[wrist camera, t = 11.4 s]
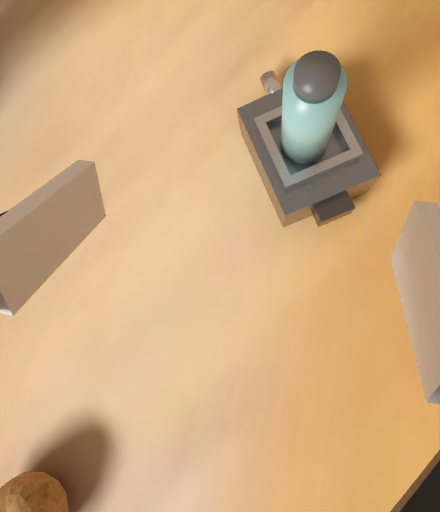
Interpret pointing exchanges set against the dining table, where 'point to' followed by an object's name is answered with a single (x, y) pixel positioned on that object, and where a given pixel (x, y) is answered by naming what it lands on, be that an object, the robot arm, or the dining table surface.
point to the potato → (33, 494)
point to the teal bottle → (311, 105)
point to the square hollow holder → (306, 174)
